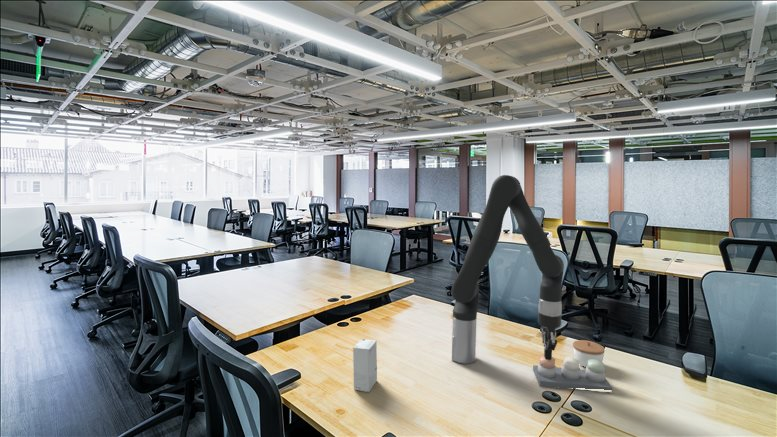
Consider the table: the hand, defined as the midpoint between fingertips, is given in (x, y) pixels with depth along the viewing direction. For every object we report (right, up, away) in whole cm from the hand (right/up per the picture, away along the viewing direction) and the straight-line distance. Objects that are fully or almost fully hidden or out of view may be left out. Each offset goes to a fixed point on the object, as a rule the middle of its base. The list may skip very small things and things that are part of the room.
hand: (547, 358), depth 130 cm
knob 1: (0, -2, 0) cm, 2 cm away
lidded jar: (+20, -7, +11) cm, 24 cm away
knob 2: (+16, -3, -3) cm, 16 cm away
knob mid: (+8, -3, -1) cm, 8 cm away
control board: (+8, -8, -1) cm, 11 cm away
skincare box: (-65, -8, -4) cm, 66 cm away
